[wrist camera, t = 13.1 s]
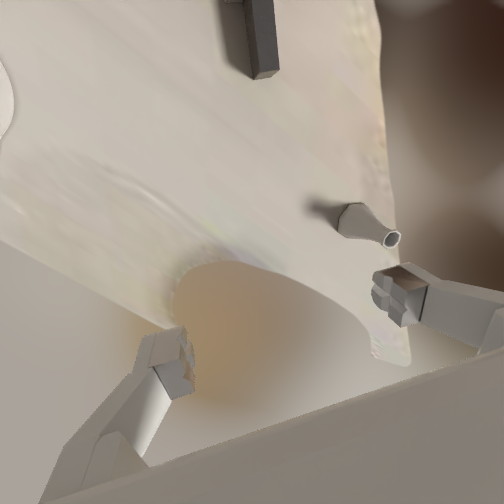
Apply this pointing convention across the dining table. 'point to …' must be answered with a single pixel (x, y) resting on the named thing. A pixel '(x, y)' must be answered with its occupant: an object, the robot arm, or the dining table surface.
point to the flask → (366, 226)
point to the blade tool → (261, 37)
